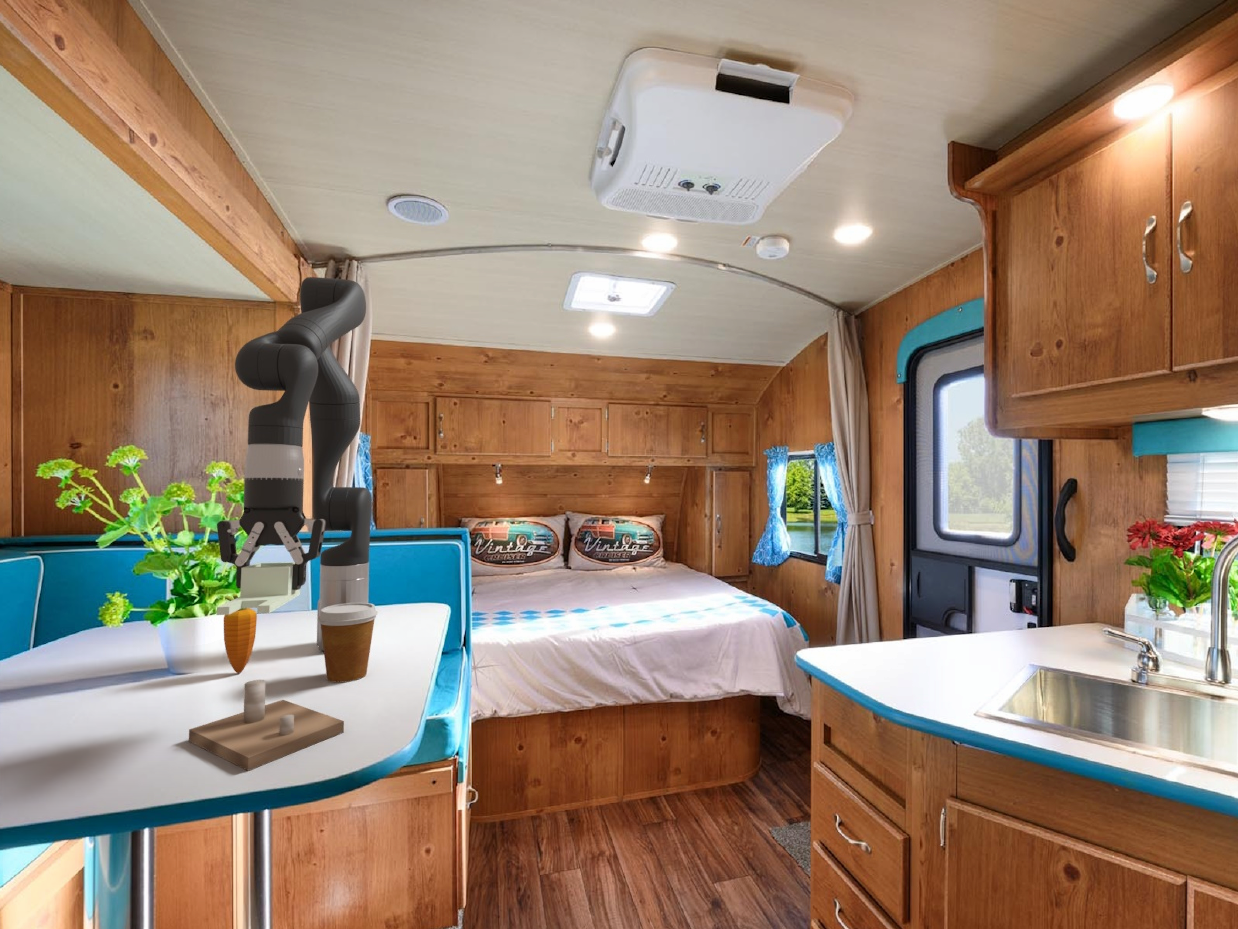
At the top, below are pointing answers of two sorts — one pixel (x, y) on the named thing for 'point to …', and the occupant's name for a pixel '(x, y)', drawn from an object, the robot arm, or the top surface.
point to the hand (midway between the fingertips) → (271, 590)
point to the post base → (264, 730)
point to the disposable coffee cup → (347, 639)
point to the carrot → (239, 635)
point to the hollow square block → (263, 588)
